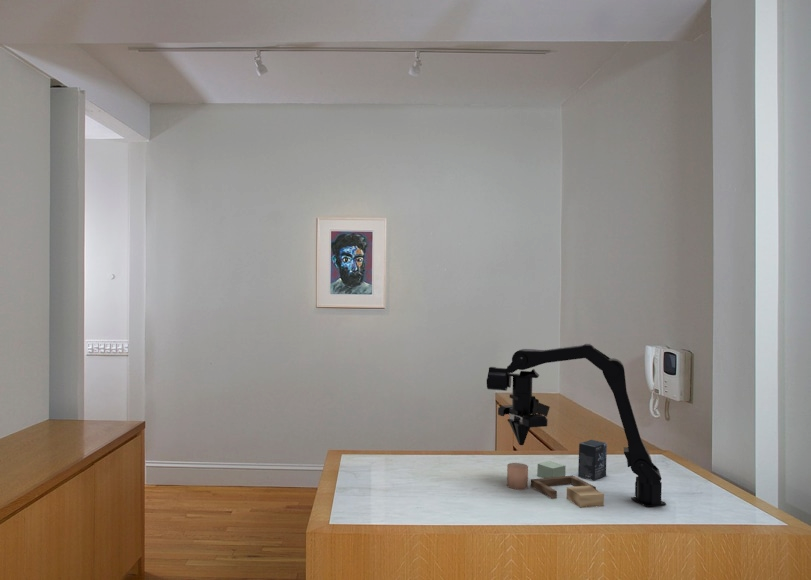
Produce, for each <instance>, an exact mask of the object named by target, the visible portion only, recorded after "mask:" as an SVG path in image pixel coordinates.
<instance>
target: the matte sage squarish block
mask: <svg viewBox="0 0 811 580" xmlns="http://www.w3.org/2000/svg"><path fill="white" fill-rule="evenodd" d="M536 475H537V477H539V478H551V477H561V476H566V465H565V464H561V463H558V462H555V461H552V460H547V461H545V462H543V461H542V462H540V463H537V474H536Z"/></svg>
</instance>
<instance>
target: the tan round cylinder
mask: <svg viewBox="0 0 811 580" xmlns="http://www.w3.org/2000/svg"><path fill="white" fill-rule="evenodd" d="M506 466H507V467H506V468H507V469H506V471H507V473H506V475H507V476H506V486H507V488H509V489H513V490H520V491H521V490H526V489H529V488H528V487H529V486H528V485H529V465H527V464H525V463H521V462H509V463H508V464H507V465H506Z"/></svg>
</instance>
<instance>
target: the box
mask: <svg viewBox="0 0 811 580" xmlns="http://www.w3.org/2000/svg"><path fill="white" fill-rule="evenodd" d="M607 444H608V442H603V441H599V440H594V439H590V440H586V441H583V442H582V441H581V442H579V443H578V468H577V470H578V471H577V476H578V478H579V477H580V478H582V479H586V480H590V481H593V482H594V481H596V480H598V479H601V478H604V477H607V452H608V451H607V450H608V448H607V447H608V445H607Z"/></svg>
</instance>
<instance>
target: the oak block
mask: <svg viewBox="0 0 811 580" xmlns="http://www.w3.org/2000/svg"><path fill="white" fill-rule="evenodd" d="M566 499H567V500H568V501H569V502H571V503H573V504H574V505H575V506H577V507H579V508H580V509H582V508H593V507H594V508H595V507H596V506H597V507H604V506H605V494H604V493H603V492H602V491H600V490H598V489H597V488H596V489H594V488H593V487H591V486H566ZM597 507H596V508H597Z"/></svg>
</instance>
